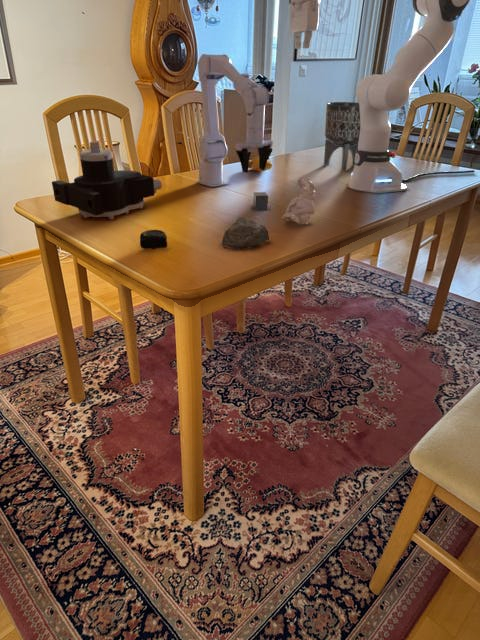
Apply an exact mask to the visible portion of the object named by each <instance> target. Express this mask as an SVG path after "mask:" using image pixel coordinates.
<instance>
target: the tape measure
mask: <svg viewBox="0 0 480 640" xmlns="http://www.w3.org/2000/svg"><path fill="white" fill-rule="evenodd" d="M167 236H168V235H167V234H166V232H165V231H164V230H161V229H147V230H144V231H143V232H141V233H140V235H139V240H140V241H139V245H140V246H139V247H141V248H142V249H146V250H157V249H167V248H168V240H167V239H168V237H167Z"/></svg>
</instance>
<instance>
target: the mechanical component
mask: <svg viewBox="0 0 480 640" xmlns="http://www.w3.org/2000/svg"><path fill="white" fill-rule="evenodd" d="M89 146H90V149H86V150H81V151H80V152H79V154H78V155H79V158H80V160H79V161H80V166H81V172H82V175H79V176H76V177H75V178H74V179H73V181H74V182H66V181H64V180H60V179H59V180H54V181H51V187H52V191H53V196H54V201H55V202H58V203H60V204H63V205H67V206H71V207H74V208H77V209H78V213H79V214H80V215H83V218H85V219H89V218H90V217H93V218H105V217H108V220H114V219H115V216H119V215H121V214H126V215H127V214H129V213H130V210H135V209H136V210H137V209H143V207H144V199H147V198H150V197H154V196H155V194H156V193H157V190H161V189H162V186H163V183H162V181H161V180H160V179H158V178H157V179H155V178H154V177H153V176H149V175H146V174H143V173H141V172H139V171H136V170H129V169H126V170H125V169H124V170H123V169H121V170H115V165H114V154H113V151H111V150H109V149H102V148H101V144H100V141H89Z"/></svg>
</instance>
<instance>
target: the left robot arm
mask: <svg viewBox="0 0 480 640" xmlns="http://www.w3.org/2000/svg"><path fill="white" fill-rule="evenodd" d="M197 71H198V81H199V82H200V90H201V100H202V101H201V102H202V113H203V125H204V134H203V135H202V136H201V137H200V138H199V139H198V141H199V142H198V143H199V145H198V155H199V157H200V159H201V160H200V161H199V163H198V181H197V180H196V181H197V182H196V183H198V184H200V185H203V186H207V187H210V188H215V187H219V186H225V185H228V182H225V181H223V162H224V161H225V158H226V157H227V156H228V146H227V144H226V138H225V136H224V135H222V134H221V133H220V126H219V125H220V124H219V123H220V122H219V112H218V102H217V101H218V98H217V84H219V82H221V81H222V80H223V79H224V78H225V77H226V78H227V79H228V80H229V81H230V82H232V83H233V85H232V86H233V89H234V90H235V91H236V92H237V94H239V95H240V97H242V98H243V99H242V100H243V103H244V107H245V109H244V110H245V113H246V132H245V133H246V136H245V138H246V139H245V141H243V142H238V143H235V152H236V154H237V156H238V160H239V162H240V167H241V170H242V173H246V174H247V173H248V172H249V168H248V166H249V161H250V159H251V155H252V152H251V151H249V150H251V149H252V150H253V149H257V152H258V156H259V168H260V169H262V170H265V167H266V163H267V160H268V158H270V155H271V154H272V153H273V147H274V146H273V144H274V141H273V140H270V139H267V140H264V135H265V112H266V106H267V105H268V104H269V101H270V92H269V90H268V88H267V87H266V86H259V84H258V83H257V82H256V81H254V80H253V79H252V78H251V77H250V75H249V74H248V73H240V71H239V70H238V69H237V68H236V67H235V66H234V64H232V60H231V58H230V57H229V56H228V55H227V54H207V53H203V54H201V55H200V57H199V59H198V61H197Z"/></svg>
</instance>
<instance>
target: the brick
mask: <svg viewBox="0 0 480 640" xmlns="http://www.w3.org/2000/svg"><path fill="white" fill-rule="evenodd" d="M268 207H269V195H268V194H267V192H266V191H256V192H255V191H254V192H253V194H252V208H253V209H254V210H255V211H268V209H269V208H268Z"/></svg>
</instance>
